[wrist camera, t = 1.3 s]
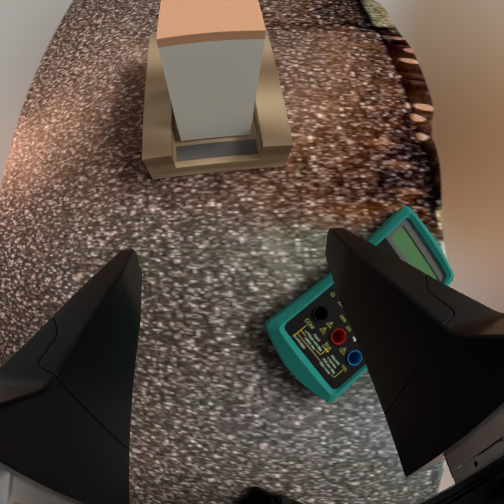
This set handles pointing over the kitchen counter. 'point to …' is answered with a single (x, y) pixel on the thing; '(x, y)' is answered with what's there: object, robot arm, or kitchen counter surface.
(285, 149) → the open taupe tray
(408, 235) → the digital multimeter
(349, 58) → the kitchen counter surface
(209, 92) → the switch tab
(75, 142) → the kitchen counter surface
